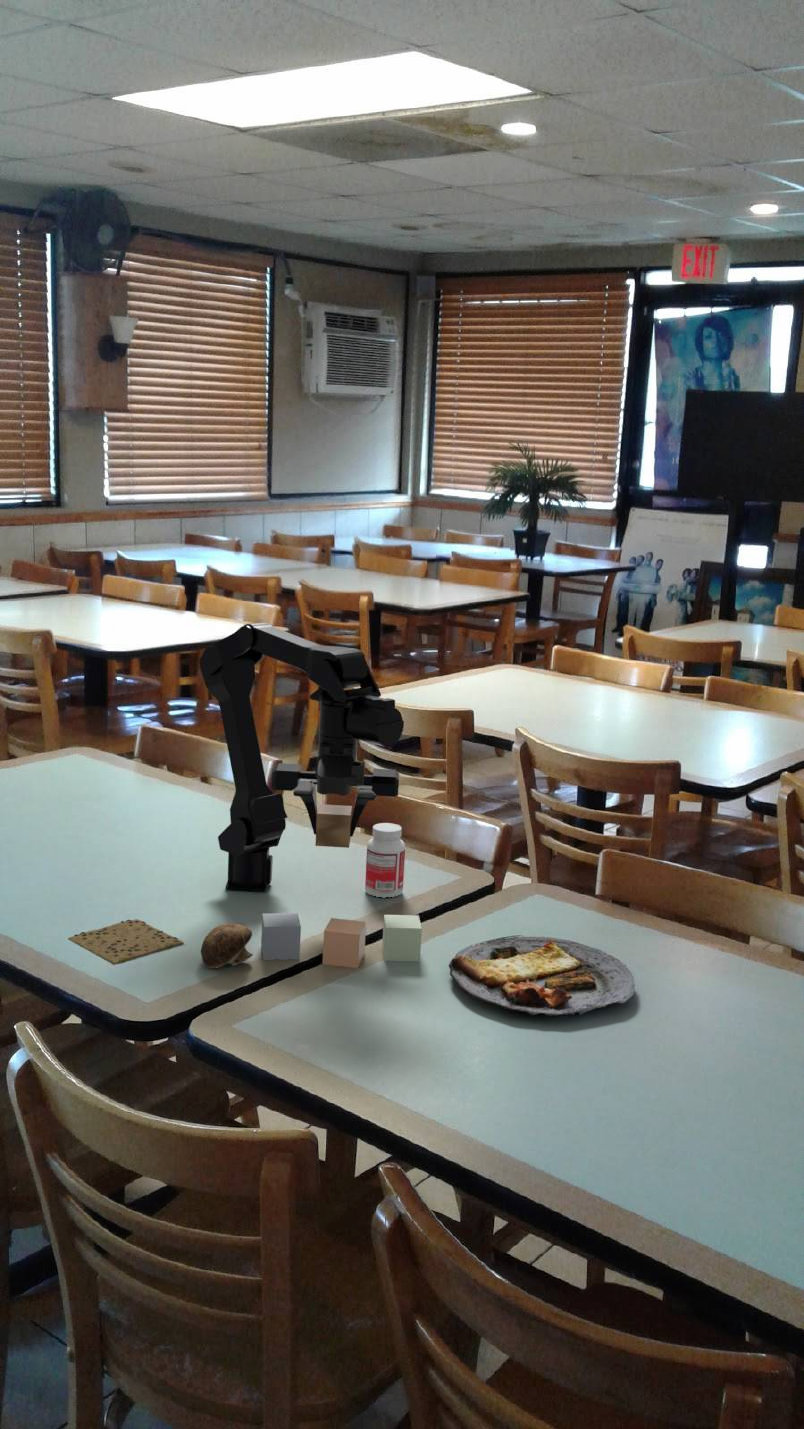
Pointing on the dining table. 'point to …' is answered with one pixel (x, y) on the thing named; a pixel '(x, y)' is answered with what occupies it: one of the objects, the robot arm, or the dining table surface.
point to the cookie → (125, 941)
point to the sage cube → (401, 938)
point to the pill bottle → (385, 861)
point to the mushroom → (226, 945)
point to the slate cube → (280, 936)
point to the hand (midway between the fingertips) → (333, 834)
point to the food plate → (541, 975)
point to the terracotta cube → (344, 942)
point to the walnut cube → (333, 825)
